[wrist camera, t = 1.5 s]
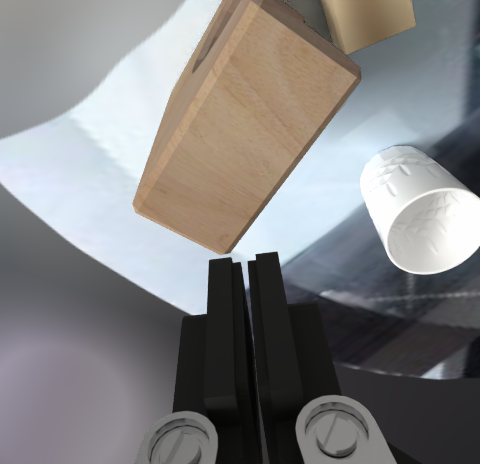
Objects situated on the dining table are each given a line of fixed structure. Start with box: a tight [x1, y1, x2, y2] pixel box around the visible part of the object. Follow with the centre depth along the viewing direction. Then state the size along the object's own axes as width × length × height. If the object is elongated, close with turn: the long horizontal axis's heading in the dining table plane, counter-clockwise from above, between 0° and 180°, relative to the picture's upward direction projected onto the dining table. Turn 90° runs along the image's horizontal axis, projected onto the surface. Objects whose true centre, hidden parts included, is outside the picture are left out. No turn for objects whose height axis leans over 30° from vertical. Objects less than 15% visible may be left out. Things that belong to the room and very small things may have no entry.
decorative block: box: [132, 0, 361, 255], centre depth 28 cm, size 11×6×20 cm, turn 146°
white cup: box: [360, 146, 480, 274], centre depth 39 cm, size 8×8×10 cm
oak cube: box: [321, 0, 416, 55], centre depth 33 cm, size 5×5×5 cm
